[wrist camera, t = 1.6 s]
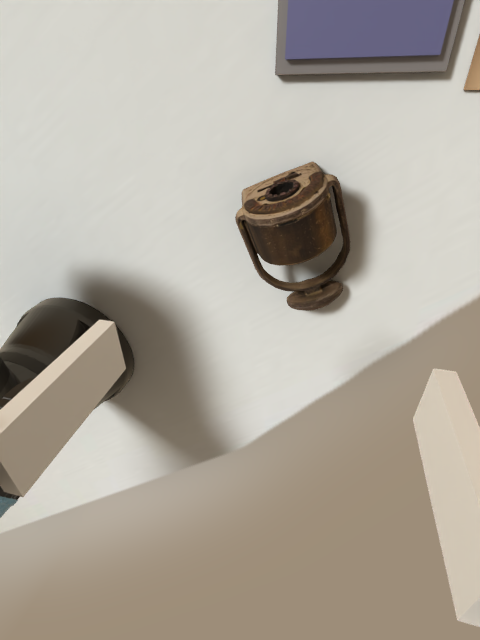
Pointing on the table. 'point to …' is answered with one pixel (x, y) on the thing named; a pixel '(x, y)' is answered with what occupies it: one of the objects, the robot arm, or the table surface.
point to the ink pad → (365, 36)
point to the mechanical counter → (295, 230)
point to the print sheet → (474, 71)
